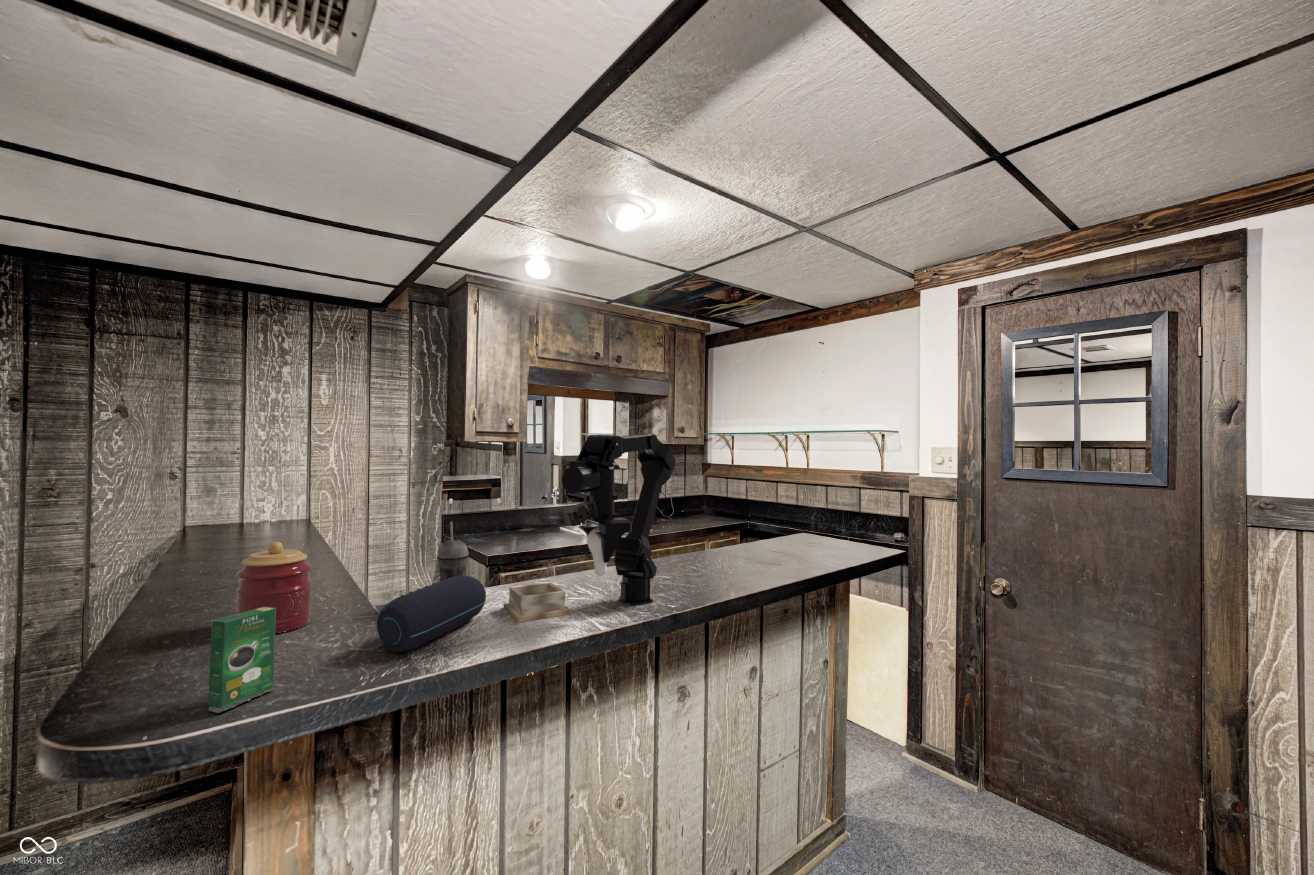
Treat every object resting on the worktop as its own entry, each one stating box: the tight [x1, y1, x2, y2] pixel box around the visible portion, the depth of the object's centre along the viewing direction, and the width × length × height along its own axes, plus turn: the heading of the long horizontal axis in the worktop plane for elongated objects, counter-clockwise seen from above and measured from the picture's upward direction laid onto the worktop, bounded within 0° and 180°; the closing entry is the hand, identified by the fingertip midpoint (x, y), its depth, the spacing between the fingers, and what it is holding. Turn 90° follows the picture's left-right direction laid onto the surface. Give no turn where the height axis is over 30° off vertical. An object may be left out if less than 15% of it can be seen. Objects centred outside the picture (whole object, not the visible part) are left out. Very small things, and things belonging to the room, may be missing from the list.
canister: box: [235, 541, 313, 633], centre depth 114 cm, size 13×13×18 cm
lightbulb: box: [586, 527, 608, 577], centre depth 122 cm, size 6×6×11 cm
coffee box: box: [208, 607, 276, 708], centre depth 81 cm, size 8×3×13 cm, turn 163°
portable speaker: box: [376, 575, 487, 653], centre depth 110 cm, size 25×10×10 cm, turn 164°
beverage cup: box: [436, 521, 470, 582], centre depth 130 cm, size 7×7×20 cm
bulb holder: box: [503, 581, 572, 623], centre depth 126 cm, size 12×12×5 cm
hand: (600, 560), depth 122 cm, fingers closed on lightbulb, 5 cm apart
